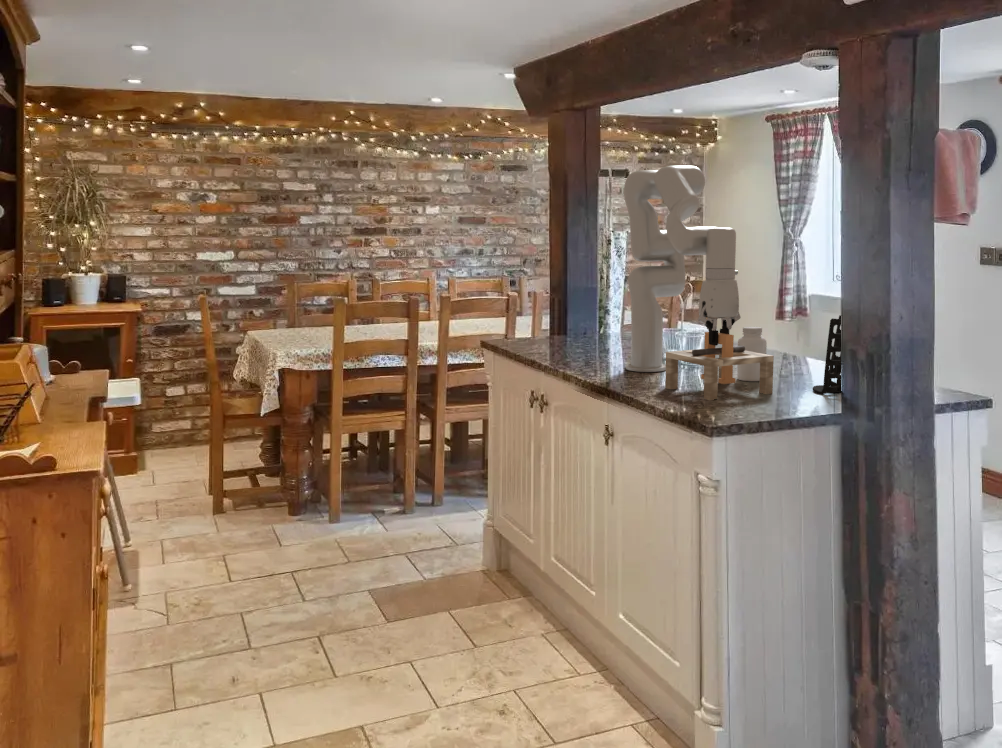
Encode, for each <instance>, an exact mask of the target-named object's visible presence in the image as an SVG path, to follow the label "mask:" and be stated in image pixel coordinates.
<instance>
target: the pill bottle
mask: <svg viewBox="0 0 1002 748" xmlns="http://www.w3.org/2000/svg"><path fill="white" fill-rule="evenodd" d="M742 335H743V336H741V337H739V338H738V340H737V346H744V347H745V351H751V352H756V353H762V354H767V340H766V338H765V337H764V336H762V335H763V327H761V326H744V327H742ZM736 366H737V368H736V371H737V372H736V373H737V374H736V376H737V379H738V380H739V381H743V382H760V363H751V364H740V365H736Z"/></svg>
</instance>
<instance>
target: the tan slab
mask: <svg viewBox="0 0 1002 748" xmlns="http://www.w3.org/2000/svg"><path fill="white" fill-rule="evenodd" d="M734 337H735V336H734V334H730V333H729V334H724V333H720V332H718V345H721V347H722V358H726V357H733V347H734ZM710 348H716V346H715V345H710V344H709V331H705V332H704V348H703V349H710ZM704 356H705V357H710V358H716V355H715V354H711V355H704ZM733 373H734V365H729V366H722V370H721V378H719V377H718V384H721V385H728V384H736V378H735V377H734V375H733ZM700 379H701V380H704V373H703V374H700Z"/></svg>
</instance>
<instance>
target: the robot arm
mask: <svg viewBox="0 0 1002 748" xmlns="http://www.w3.org/2000/svg"><path fill="white" fill-rule="evenodd" d="M705 185H706V179H705V174H704V173H703V171H702V169H700V168H699V167H697V166H695V165H667V166H662V167H661V168H659V169H642V170H635V171H633V172H631V173H629V174H628V175H627V177H626V179H625V181H624V185H623V186H624V187H623V197H624V202H625V205H626V208H627V212H628V213H627V214H628V215H629V216H628V218H629V232H630V247H631V253H632V257H633V259H634V260H635V261H638V262H649V263H650V262H651V263H652V262H662V263H663V265H644V266H643V265H641V266H638V267H635V268H634V269H632V270H631V271H630V273H629V274H628V277H627V280H628V281H627V284H628V290H629V296H630V307H631V308H630V318H631V320H630V321H631V325H630V327H631V328H630V330H631V331H630V333H631V337H630V341H631V343H630V348H631V349H630V354H629V355H627V359H628V360H629V361H630V362H629V363H627V364H625V369H626V371H630V372H638V373H657V372H658V373H659V372H664V371H665V372H666V363H663V329H664V328H663V326H664V325H663V323H664V319H663V317H664V316H663V315H664V313H663V309H662V307H661V304H659V302H658V300H657V298H667V297H668V298H669V297H677V296H678V297H679V295H681V294H682V293H683V292H684V290H685V287H686V265H685V264H686V263H685V256H705V280H702V283H701V287H700V293H699V301H698V318H697V322H699V323H701V324H703V325H704V326H705V327H706V329H707V330H708V332H709V344H710V345H715V347H716V346H718V345H719V344H718V333H724V334H730V330H732V328H733V325H734V324H735V323H736V322H737V321H738V320H740V319H741V315H740V309H739V308H740V298H739V295H740V294H739V286H738V282H737V280H736V276H738V274H739V272H738V271H739V270H736V254H737V253H736V251H737V250H736V247H737V232H736V230H735V229H734V228H732V227H718V226H686V225H685V224H684V221H685V220H687V219H689V218H691V217H693V215H695V213H696V212H697V211H698V209H699V207H700V198H699V197H698V196H699V195H700V194H701V193H702V192H703V191H704V189H705ZM649 200H662V201H663V202H664V204H665V206H666V207H667V209H668V211H669V212H668V215H667V217H666V221H665V225H666V226H665V228H666V229H660V227H659V217H658V213H657V211H656V209H655V207H654V206H653V204H652V203H651V202H650V201H649ZM718 319H721V320H720V321H721V328H719V330H718V329H717V328H718V327H717V326H718Z"/></svg>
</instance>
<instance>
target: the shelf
mask: <svg viewBox="0 0 1002 748" xmlns="http://www.w3.org/2000/svg"><path fill="white" fill-rule="evenodd" d="M711 354H715V356H718V358H716V357H715V358H710V357H705V356H704V355H711ZM679 361H681V362H685V363H689V364H694V365H698V366H703V374H704V379H703V383H704V384H703V399H704V400H707V401H713V400H714V399H717V400H718V387H719V385H718V384H719V383H718V378H721V370H722V366H729V365H733V366H737V365H740V364H751V363H760V381H759V388H758V389H759V391H758V393H759V394H762V393H763V395H770V394H773V392H774V391H773V389H774V388H773V387H774V355H771V354H767V353H766V354H762V353H756V352H751V351H745V347H744V346H738V345H736V346H733V357H726V358H722V346H721V347H715V348H710V349H704V348H697V349H686V350H674V351H665V365H666V370H665V379H664V380H665V381H664V382H665V385H664V387H665V389H666V390H677V389H679ZM714 401H715V400H714Z"/></svg>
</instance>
